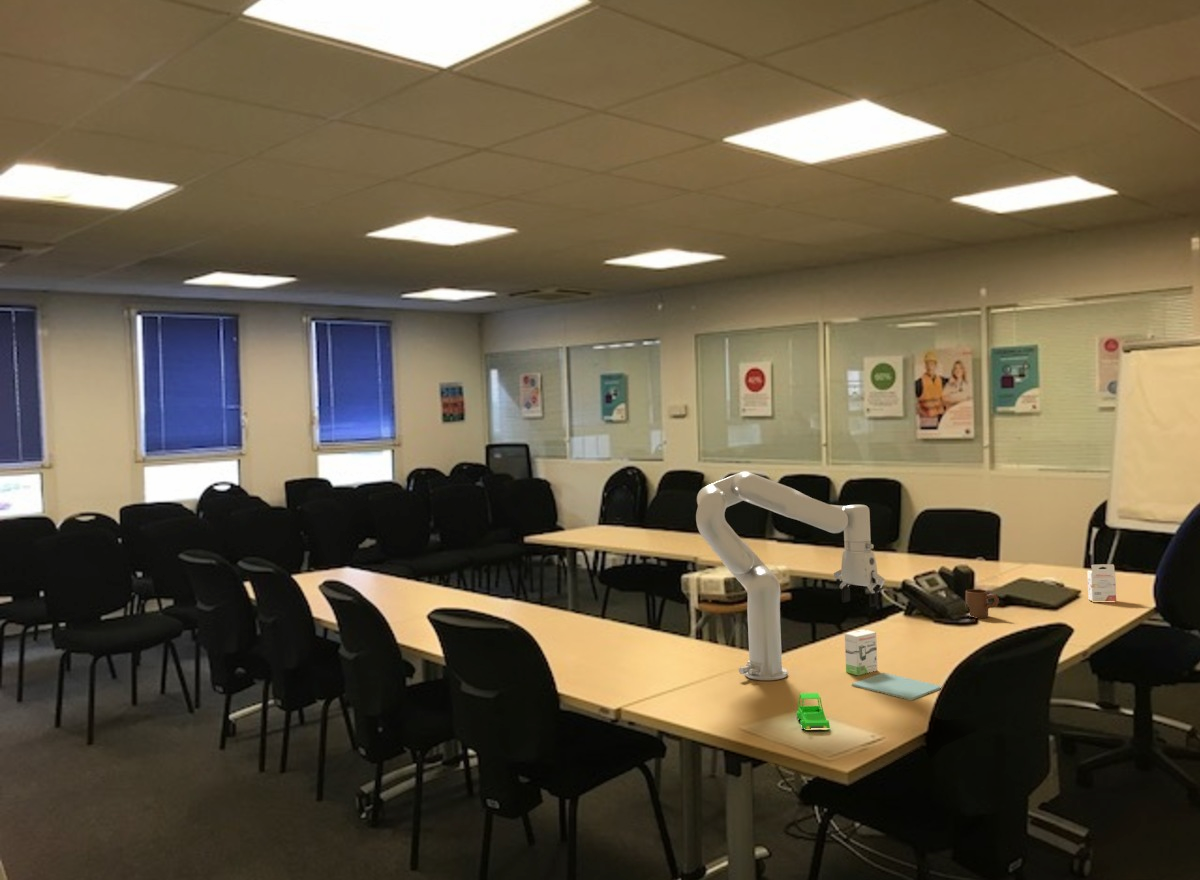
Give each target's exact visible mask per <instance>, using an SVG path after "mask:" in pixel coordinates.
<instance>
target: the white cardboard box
mask: <svg viewBox="0 0 1200 880" xmlns="http://www.w3.org/2000/svg"><path fill="white" fill-rule="evenodd" d="M844 648H845V649H844V651H845V652H844V653H845V672H846V673H847V674H852V675H855V676H862V675H865V673H866V674H869V672H870V673H874V672H876V670H877V671H878V653H877V652H878V649H877V648H878V645H877V632H875V631H872V630H870V629H869V630H868V629H864V628H863V629H859V630H854V631H849V632H846V633H844ZM873 671H874V672H873Z"/></svg>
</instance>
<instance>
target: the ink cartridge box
mask: <svg viewBox="0 0 1200 880" xmlns="http://www.w3.org/2000/svg"><path fill="white" fill-rule="evenodd" d="M1090 567H1091V570H1087V573H1086V575H1087V576H1086V577H1087V596H1088V599H1090V600H1092V601H1116V602H1117V590H1116V588H1117V587H1116V586H1117V585H1116V584H1117V581H1116V572H1115V565H1114V564H1113V563H1111V564H1109V563H1108V564H1104V563H1103V564H1101V563H1100V564H1091V566H1090ZM1088 599H1087V600H1088Z"/></svg>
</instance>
